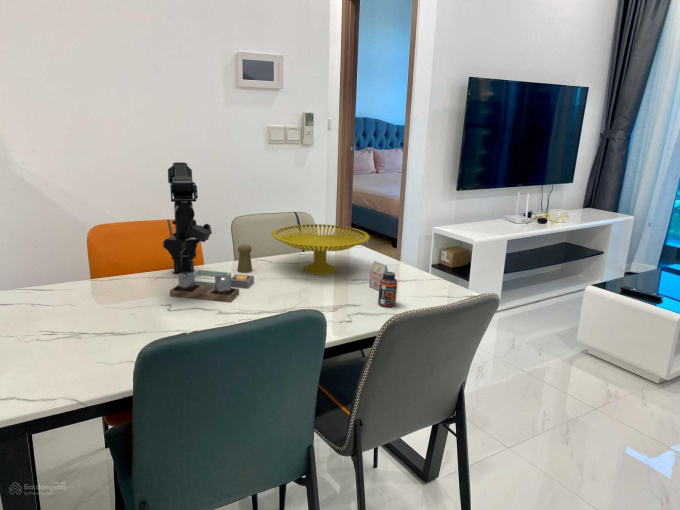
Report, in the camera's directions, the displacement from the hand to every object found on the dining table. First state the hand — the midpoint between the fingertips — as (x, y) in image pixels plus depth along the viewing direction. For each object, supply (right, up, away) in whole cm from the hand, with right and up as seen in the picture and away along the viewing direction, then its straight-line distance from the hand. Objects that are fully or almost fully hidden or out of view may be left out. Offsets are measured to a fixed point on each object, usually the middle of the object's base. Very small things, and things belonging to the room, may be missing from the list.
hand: (185, 263), depth 172 cm
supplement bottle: (+68, -14, +3) cm, 69 cm away
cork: (+14, -4, +32) cm, 36 cm away
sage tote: (+3, -8, +16) cm, 18 cm away
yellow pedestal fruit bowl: (+43, -3, +40) cm, 59 cm away
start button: (+16, -8, +14) cm, 23 cm away
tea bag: (+66, -10, +19) cm, 70 cm away
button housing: (+16, -9, +15) cm, 23 cm away
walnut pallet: (+6, -12, +2) cm, 13 cm away
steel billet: (0, -10, +3) cm, 11 cm away
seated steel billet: (+12, -11, +1) cm, 17 cm away
